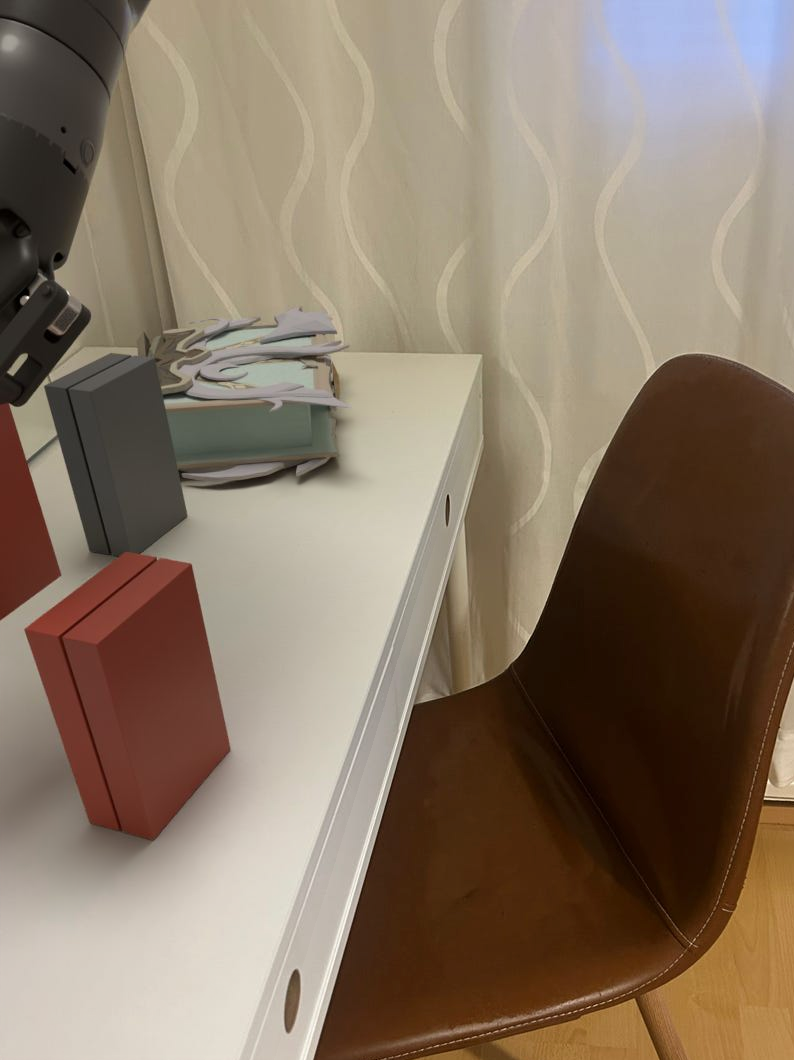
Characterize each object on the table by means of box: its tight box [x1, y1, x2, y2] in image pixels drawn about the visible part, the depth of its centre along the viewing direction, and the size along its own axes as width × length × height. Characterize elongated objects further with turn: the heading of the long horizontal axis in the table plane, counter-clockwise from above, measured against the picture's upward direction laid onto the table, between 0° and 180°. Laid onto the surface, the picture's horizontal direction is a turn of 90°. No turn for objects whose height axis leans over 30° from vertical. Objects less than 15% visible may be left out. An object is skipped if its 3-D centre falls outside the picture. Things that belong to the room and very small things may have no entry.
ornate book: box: [136, 305, 353, 482], centre depth 98 cm, size 23×10×30 cm
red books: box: [24, 552, 232, 841], centre depth 53 cm, size 4×8×13 cm, turn 161°
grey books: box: [43, 352, 188, 557], centre depth 78 cm, size 4×8×14 cm, turn 161°
